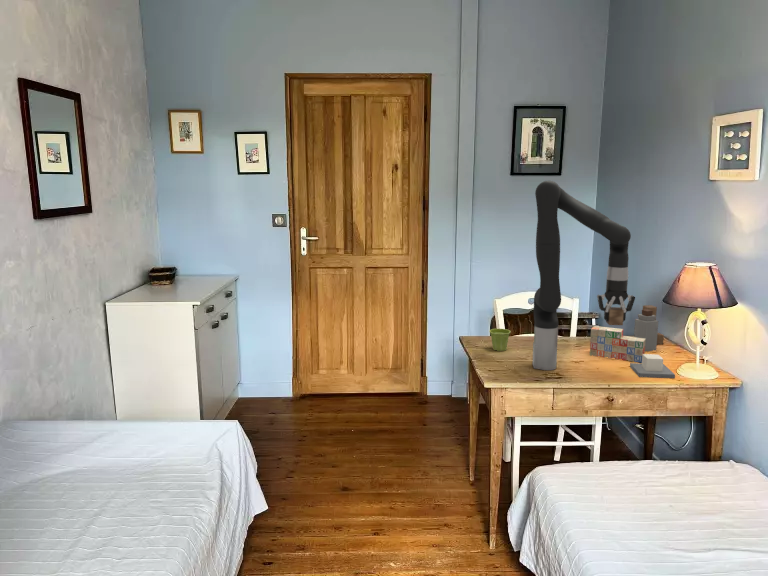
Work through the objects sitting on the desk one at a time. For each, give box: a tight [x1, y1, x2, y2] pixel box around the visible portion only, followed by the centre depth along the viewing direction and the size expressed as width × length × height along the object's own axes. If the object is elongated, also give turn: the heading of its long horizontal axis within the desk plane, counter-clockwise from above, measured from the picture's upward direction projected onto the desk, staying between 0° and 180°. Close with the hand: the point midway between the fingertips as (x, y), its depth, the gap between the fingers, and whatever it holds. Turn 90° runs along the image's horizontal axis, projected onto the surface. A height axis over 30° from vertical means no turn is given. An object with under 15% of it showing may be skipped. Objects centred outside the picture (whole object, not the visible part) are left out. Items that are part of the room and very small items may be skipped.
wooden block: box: [642, 304, 665, 345], centre depth 265 cm, size 9×4×18 cm, turn 95°
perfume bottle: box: [633, 309, 659, 353], centre depth 256 cm, size 7×7×18 cm
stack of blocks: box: [589, 325, 646, 364], centre depth 245 cm, size 21×6×12 cm, turn 56°
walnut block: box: [606, 306, 624, 326], centre depth 221 cm, size 5×5×6 cm
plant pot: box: [489, 328, 511, 352], centre depth 259 cm, size 9×9×9 cm
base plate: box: [629, 353, 676, 379], centre depth 225 cm, size 13×13×6 cm
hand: (614, 321), depth 221 cm, fingers closed on walnut block, 5 cm apart
